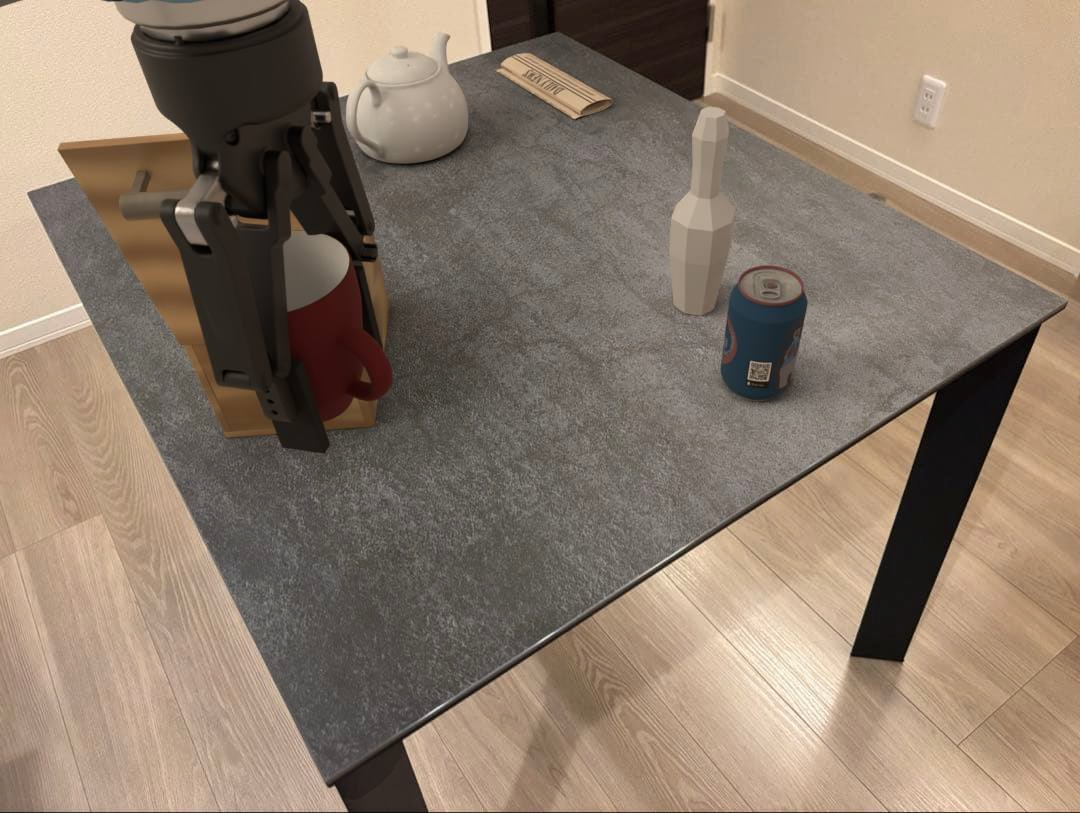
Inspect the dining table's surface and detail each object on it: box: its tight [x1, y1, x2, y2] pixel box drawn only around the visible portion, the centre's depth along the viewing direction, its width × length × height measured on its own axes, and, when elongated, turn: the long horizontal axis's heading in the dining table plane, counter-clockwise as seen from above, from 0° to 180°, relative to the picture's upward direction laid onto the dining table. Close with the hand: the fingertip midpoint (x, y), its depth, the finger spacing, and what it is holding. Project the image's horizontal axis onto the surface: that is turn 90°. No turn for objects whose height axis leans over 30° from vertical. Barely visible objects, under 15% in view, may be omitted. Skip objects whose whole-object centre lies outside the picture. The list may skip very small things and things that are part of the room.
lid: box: [57, 132, 305, 347], centre depth 63 cm, size 21×15×5 cm
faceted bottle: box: [668, 106, 736, 317], centre depth 84 cm, size 6×6×22 cm
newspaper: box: [495, 52, 613, 120], centre depth 133 cm, size 24×7×2 cm, turn 33°
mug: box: [283, 230, 394, 422], centre depth 48 cm, size 11×8×10 cm
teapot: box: [345, 31, 469, 165], centre depth 119 cm, size 19×18×14 cm
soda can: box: [720, 265, 809, 402], centre depth 78 cm, size 7×7×12 cm
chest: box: [183, 233, 391, 439], centre depth 84 cm, size 20×15×12 cm
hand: (335, 395), depth 51 cm, fingers closed on mug, 8 cm apart
